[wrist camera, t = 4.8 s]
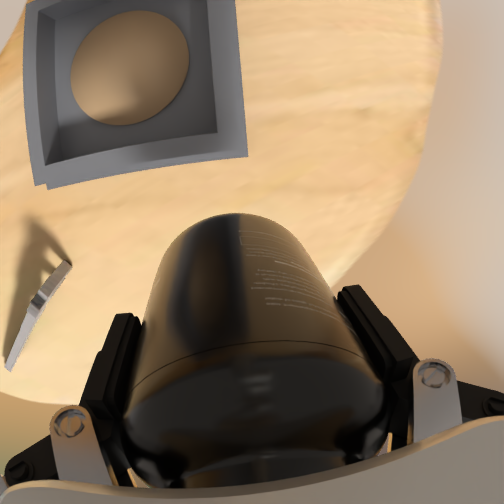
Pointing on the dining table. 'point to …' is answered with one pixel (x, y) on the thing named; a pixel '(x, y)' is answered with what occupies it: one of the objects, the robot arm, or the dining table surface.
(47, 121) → the housing
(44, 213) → the dining table surface
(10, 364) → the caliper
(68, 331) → the dining table surface
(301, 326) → the supplement bottle
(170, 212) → the dining table surface
